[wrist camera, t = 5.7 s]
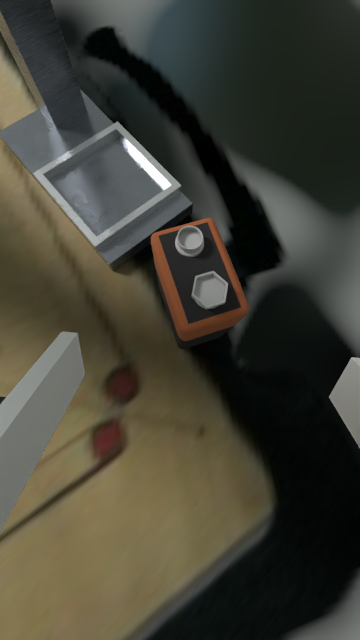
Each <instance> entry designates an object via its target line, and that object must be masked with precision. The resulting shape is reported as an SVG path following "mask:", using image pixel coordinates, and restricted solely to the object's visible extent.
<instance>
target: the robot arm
mask: <svg viewBox="0 0 360 640" xmlns="http://www.w3.org/2000/svg"><path fill="white" fill-rule="evenodd" d="M84 376H85V371H84V366H83V360H82V354H81V349H80V343H79V338H78V333H73V332H61V333H60V334H59V335H58V336H57V338H56V339H55V340H54V341H53V342H52V344H51V345H50V346H49V347H48V348H47V349H46V351H45V352H44V353H43V354H42V355H41V357H40V358H39V359H38V360H37V361H36V363H35V364H34V365H33V366H32V367H31V368H30V370H29V371H28V372H27V373H26V374H25V376H24V377H23V378H22V379H21V380H20V381H19V383H18V384H17V385H16V386H15V387H14V389H13V390H12V391H11V392H10V393H9V395H8V396H7V397H0V531H1V529H2V527H3V526H4V524H5V522H6V520H7V518H8V516H9V514H10V513H11V511H12V509H13V507H14V505H15V503H16V502H17V500H18V498H19V496H20V494H21V492H22V491H23V489H24V487H25V485H26V483H27V481H28V479H29V478H30V476H31V474H32V472H33V470H34V468H35V467H36V465H37V463H38V461H39V459H40V457H41V456H42V454H43V452H44V450H45V448H46V446H47V445H48V443H49V441H50V439H51V437H52V435H53V433H54V432H55V430H56V428H57V426H58V424H59V422H60V421H61V419H62V417H63V415H64V413H65V411H66V410H67V408H68V406H69V404H70V402H71V400H72V398H73V397H74V395H75V393H76V391H77V389H78V387H79V386H80V384H81V382H82V380H83V378H84ZM329 398H330V400H331V402H332V403H333V405H334V407H335V408H336V410H337V411H338V413H339V415H340V416H341V418H342V420H343V421H344V423H345V425H346V426H347V428H348V430H349V431H350V433H351V434H352V436H353V438H354V440H355V441H356V443H357V444H358V446H359V448H360V358H353V357H352V358H351V359H350V361H349V363H348V365H347V366H346V368H345V370H344V372H343V373H342V375H341V377H340V379H339V380H338V382H337V384H336V385H335V387H334V389H333V391H332V392H331V394H330V396H329Z"/></svg>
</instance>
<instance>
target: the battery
mask: <svg viewBox="0 0 360 640" xmlns="http://www.w3.org/2000/svg"><path fill="white" fill-rule="evenodd" d="M151 245H152V251H153V256H154V262H155V267H156V273H157V278H158V284H159V289H160V292H161V295H162V298H163V301H164V305H165V308H166V311H167V314H168V317H169V320H170V323H171V326H172V329H173V332H174V335H175V338H176V342H177V344H178V347H179V348H181V349H186V348H189V347H192V346H195V345H198V344H202V343H205V342H208V341H211V340H214V339H217V338H220V337H221V336H222V335H224V334H225V333H226V332H227V331H228V330H229V329H230V328H232V327H233V326H234V325H235V324H236V323H237V322H239V321H240V320H241V319H242V318H243V317H244V316H245V315H246V314H247V313H248V311H249V305H248V302H247V300H246V297H245V295H244V292H243V290H242V287H241V285H240V282H239V280H238V277H237V275H236V273H235V270H234V268H233V265H232V263H231V260H230V258H229V255H228V253H227V250H226V248H225V245H224V243H223V240H222V238H221V236H220V233H219V231H218V228H217V226H216V224H215V222H214V221H213V219H211V218H206V219H202V220H198V221H195V222H191V223H188V224H184V225H180V226H177V227H173V228H170V229H166V230H162V231H159V232H155V233H153V234H152V236H151Z"/></svg>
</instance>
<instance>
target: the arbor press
mask: <svg viewBox="0 0 360 640" xmlns="http://www.w3.org/2000/svg"><path fill="white" fill-rule="evenodd" d="M0 31H1V33H2V35H3V37H4V39H5V41H6V43H7V45H8V47H9V49H10V51H11V53H12V55H13V57H14V59H15V61H16V63H17V65H18V67H19V69H20V71H21V73H22V75H23V77H24V78H25V80H26V82H27V84H28V86H29V88H30V90H31V92H32V94H33V96H34V98H35V100H36V102H37V104H38V106H39V108H40V109H38V110H36V111H35V112H33V113H31V114H29V115H28V116H26V117H24V118H22V119H21V120H19V121H17V122H15V123H13V124H12V125H10V126H8V127H6V128H5V129H3V130H1V131H0V137H1V138H2V140H3V141H4V143H5V144H6V145H7V146H8V148H9V149H10V150H11V151H12V152H13V154H14V155H15V156H16V157H17V158H18V159H19V161H20V162H21V163H22V164H23V165H24V167H25V168H26V169H27V170H28V171H29V172H30V174H31V175H32V176H33V177H34V178H35V180H36V181H37V182H38V183H39V184H40V185H41V187H42V188H43V189H44V190H45V191H46V193H47V194H48V195H49V196H50V197H51V198H52V200H53V201H54V202H55V203H56V204H57V206H58V207H59V208H60V209H61V210H62V211H63V213H64V214H65V215H66V216H67V217H68V219H69V220H70V221H71V222H72V223H73V224H74V226H75V227H76V228H77V229H78V230H79V232H80V233H81V234H82V235H83V236H84V237H85V239H86V240H87V241H88V242H89V243H90V245H91V246H92V247H93V248H94V249H95V250H96V252H97V253H98V254H99V255H100V256H101V258H102V259H103V260H104V261H105V262H106V263H107V265H108V266H109V267H110V268H111V269H112V271H114V270H116V269H117V268H118V267H120V266H121V265H122V264H124V263H125V262H126V261H128V260H129V259H130V258H132V257H133V256H135V255H136V254H137V253H139V252H140V251H141V250H143V249H144V248H145V247H147V246H148V245H150V244H151V236H152V234H153V233H155V232H159V231H162V230H166V229H170V228H173V227H174V226H175V225H177V224H178V223H179V222H181V221H182V220H184V219H185V218H186V217H188V216H189V215H190V214H192V207H193V203H192V202H191V201H190V200H189V199H188V198H187V197H186V196H185V195H184V194H183V193H182V192H181V185H180V184H179V183H178V182H177V181H176V180H175V179H174V178H173V177H172V176H171V175H170V174H169V173H168V172H167V171H166V170H165V169H164V168H163V167H162V166H161V165H160V164H159V163H158V162H157V161H156V160H155V159H154V158H153V157H152V156H151V155H150V154H149V153H148V151H146V149H145V148H144V147H143V146H142V145H141V144H140V143H139V142H138V141H137V140H136V139H135V138H134V137H133V136H132V135H131V134H130V133H129V132H128V131H127V130H126V129H125V128H124V127H123V126H122V125H121V124H120V123H119V122H118V121H117V122H116V123H113V122H112V121H111V120H110V119H109V118H108V117H107V116H106V115H105V114H104V113H103V112H102V111H101V110H100V109H99V108H98V107H97V106H96V105H95V104H94V103H93V102H92V101H91V100H90V99H89V98H88V97H87V96H86V95H85V94H84V93H83V92H82V91H81V90H80V88H79V85H78V81H77V78H76V75H75V72H74V69H73V66H72V63H71V60H70V57H69V54H68V51H67V48H66V46H65V42H64V39H63V36H62V33H61V30H60V27H59V24H58V21H57V18H56V15H55V12H54V9H53V6H52V4H51V0H0Z"/></svg>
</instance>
